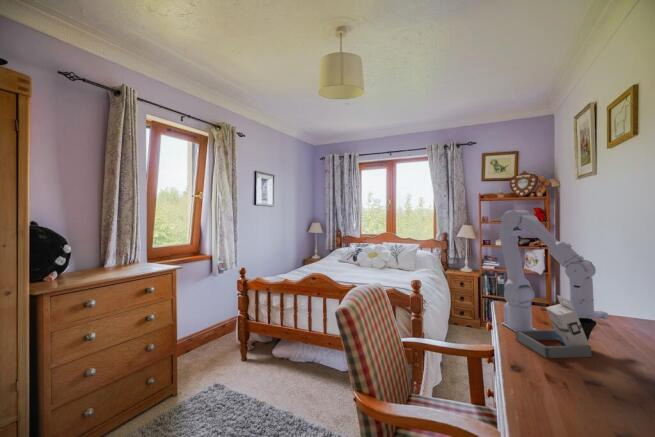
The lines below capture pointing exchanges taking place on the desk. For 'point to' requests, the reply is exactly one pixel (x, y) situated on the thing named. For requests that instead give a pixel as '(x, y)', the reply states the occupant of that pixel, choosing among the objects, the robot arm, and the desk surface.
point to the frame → (550, 351)
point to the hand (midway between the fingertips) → (583, 342)
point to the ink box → (567, 323)
